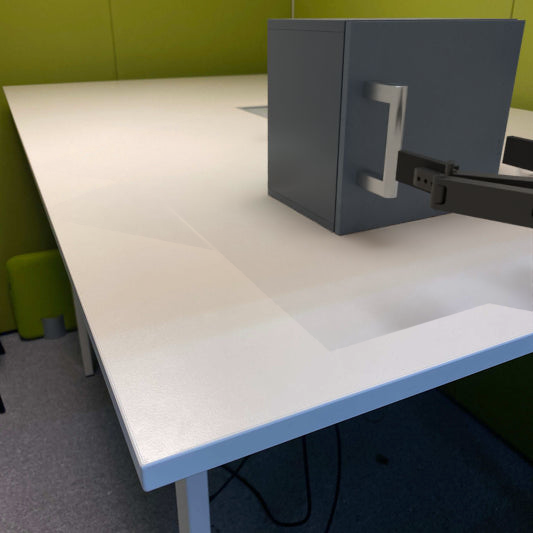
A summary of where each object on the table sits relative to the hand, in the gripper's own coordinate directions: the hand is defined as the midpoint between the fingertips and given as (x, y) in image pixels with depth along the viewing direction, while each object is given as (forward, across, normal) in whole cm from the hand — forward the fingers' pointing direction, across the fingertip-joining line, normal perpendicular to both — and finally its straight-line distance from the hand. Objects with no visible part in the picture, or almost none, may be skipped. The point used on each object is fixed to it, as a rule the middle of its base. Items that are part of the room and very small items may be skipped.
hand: (455, 156), depth 52 cm
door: (+12, +10, -12) cm, 20 cm away
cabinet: (+24, +10, -13) cm, 29 cm away
